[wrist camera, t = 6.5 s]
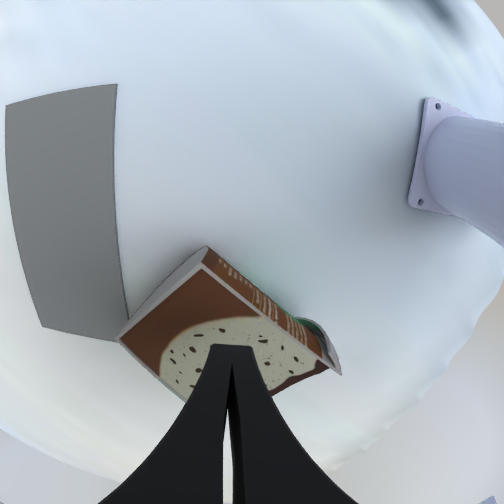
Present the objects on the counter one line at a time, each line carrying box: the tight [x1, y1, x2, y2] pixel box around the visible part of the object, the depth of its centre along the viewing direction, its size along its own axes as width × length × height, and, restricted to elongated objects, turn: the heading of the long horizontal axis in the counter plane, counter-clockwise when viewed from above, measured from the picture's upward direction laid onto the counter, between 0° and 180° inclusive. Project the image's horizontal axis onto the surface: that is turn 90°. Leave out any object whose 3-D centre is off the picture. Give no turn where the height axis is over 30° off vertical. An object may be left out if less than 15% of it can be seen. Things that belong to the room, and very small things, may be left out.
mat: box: [5, 84, 129, 342], centre depth 18 cm, size 10×20×1 cm, turn 174°
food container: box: [115, 246, 342, 403], centre depth 19 cm, size 12×6×10 cm
